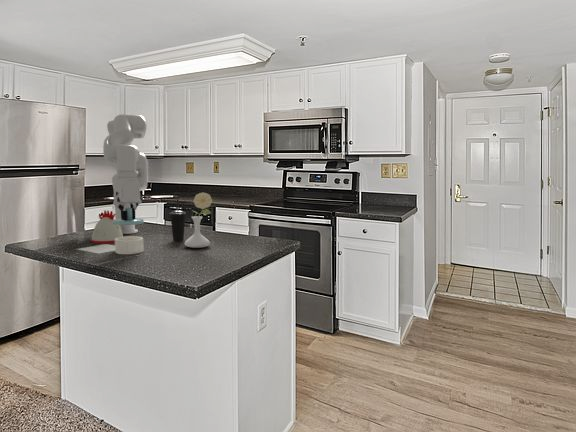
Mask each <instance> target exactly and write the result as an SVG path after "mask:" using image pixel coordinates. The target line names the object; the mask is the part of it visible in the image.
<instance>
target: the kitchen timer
mask: <svg viewBox="0 0 576 432" xmlns="http://www.w3.org/2000/svg"><path fill="white" fill-rule="evenodd" d="M98 217H99V219H100V220H98V222H97V223H96V224H95V226H94V228H93V232H92V235H91V243H95V244H113V243H114V244H115V239H116V238H119V237H124V234H122V231H121V228H120V226H119V225H115V224H113V220H115V219H114V218H115V213H113V210H111V211H110V210H106V209H105V210H104V211H103V212H101V213H100V214H98Z"/></svg>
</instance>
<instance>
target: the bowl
mask: <svg viewBox="0 0 576 432" xmlns="http://www.w3.org/2000/svg"><path fill="white" fill-rule="evenodd" d="M144 244H145V243H144V237H143V236H137V235H133V236H132V235H130V236H127V235H126V236H123V237H119V238H116V239H115V242H114V246H115V251H114V252H115V253H116V254H118V255H134V254H135V255H136V256H137V255H138V254H141V253H142V252H144V248H145V247H144Z"/></svg>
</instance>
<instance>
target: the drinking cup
mask: <svg viewBox="0 0 576 432" xmlns="http://www.w3.org/2000/svg"><path fill="white" fill-rule="evenodd" d="M179 207H180V206H179V199H176V210H172V211H171V212H169V215H170V221H171V222H170V223H171V232H172V233H171V234H172V241H173V242H183V241H184V237H185V226H186V214H187V212H185V211H183V210H180V209H179Z"/></svg>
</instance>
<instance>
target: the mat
mask: <svg viewBox="0 0 576 432" xmlns="http://www.w3.org/2000/svg"><path fill="white" fill-rule="evenodd" d="M76 250H77V251H84V252H88V253H94V254H98V255H99V254H104V253H109V252H115V244H110V243H101V244H97V245H92V246H86V247H81V248H77V249H76Z"/></svg>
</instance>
